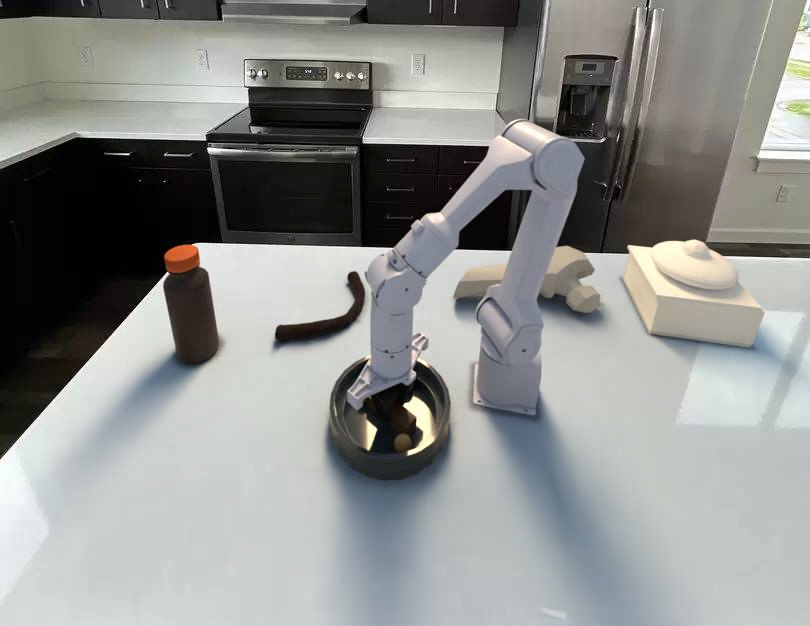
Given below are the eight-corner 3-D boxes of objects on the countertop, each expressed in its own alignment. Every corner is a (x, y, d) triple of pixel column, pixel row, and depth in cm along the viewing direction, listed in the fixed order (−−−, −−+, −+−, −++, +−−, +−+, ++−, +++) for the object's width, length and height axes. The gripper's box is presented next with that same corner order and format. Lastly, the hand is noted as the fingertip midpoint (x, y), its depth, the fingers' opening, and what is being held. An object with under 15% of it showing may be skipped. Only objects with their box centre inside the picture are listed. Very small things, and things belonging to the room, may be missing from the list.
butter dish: (750, 347, 79) (779, 275, 73) (646, 333, 82) (666, 262, 76) (705, 288, 95) (726, 226, 90) (620, 278, 98) (634, 216, 92)
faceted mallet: (580, 278, 97) (588, 236, 94) (605, 321, 84) (616, 273, 81) (449, 273, 98) (452, 231, 94) (453, 315, 85) (457, 268, 81)
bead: (405, 435, 60) (411, 454, 59) (389, 440, 59) (395, 459, 58) (409, 428, 59) (415, 447, 57) (394, 433, 58) (399, 452, 56)
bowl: (453, 382, 70) (455, 361, 68) (441, 496, 54) (443, 471, 52) (351, 364, 73) (351, 344, 71) (312, 466, 57) (310, 443, 55)
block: (366, 406, 65) (365, 394, 64) (377, 396, 66) (377, 384, 66) (405, 440, 60) (405, 428, 59) (416, 429, 62) (416, 416, 61)
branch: (309, 366, 72) (308, 351, 71) (270, 341, 77) (269, 327, 76) (388, 293, 91) (389, 280, 90) (353, 277, 96) (353, 265, 95)
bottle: (199, 370, 71) (181, 268, 64) (168, 358, 73) (146, 259, 66) (228, 341, 77) (213, 246, 70) (198, 331, 79) (181, 238, 72)
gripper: (374, 387, 50) (374, 466, 55) (446, 323, 61) (441, 394, 65) (335, 355, 55) (338, 431, 59) (409, 301, 65) (407, 369, 70)
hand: (390, 410), depth 63 cm, fingers closed on block, 2 cm apart
